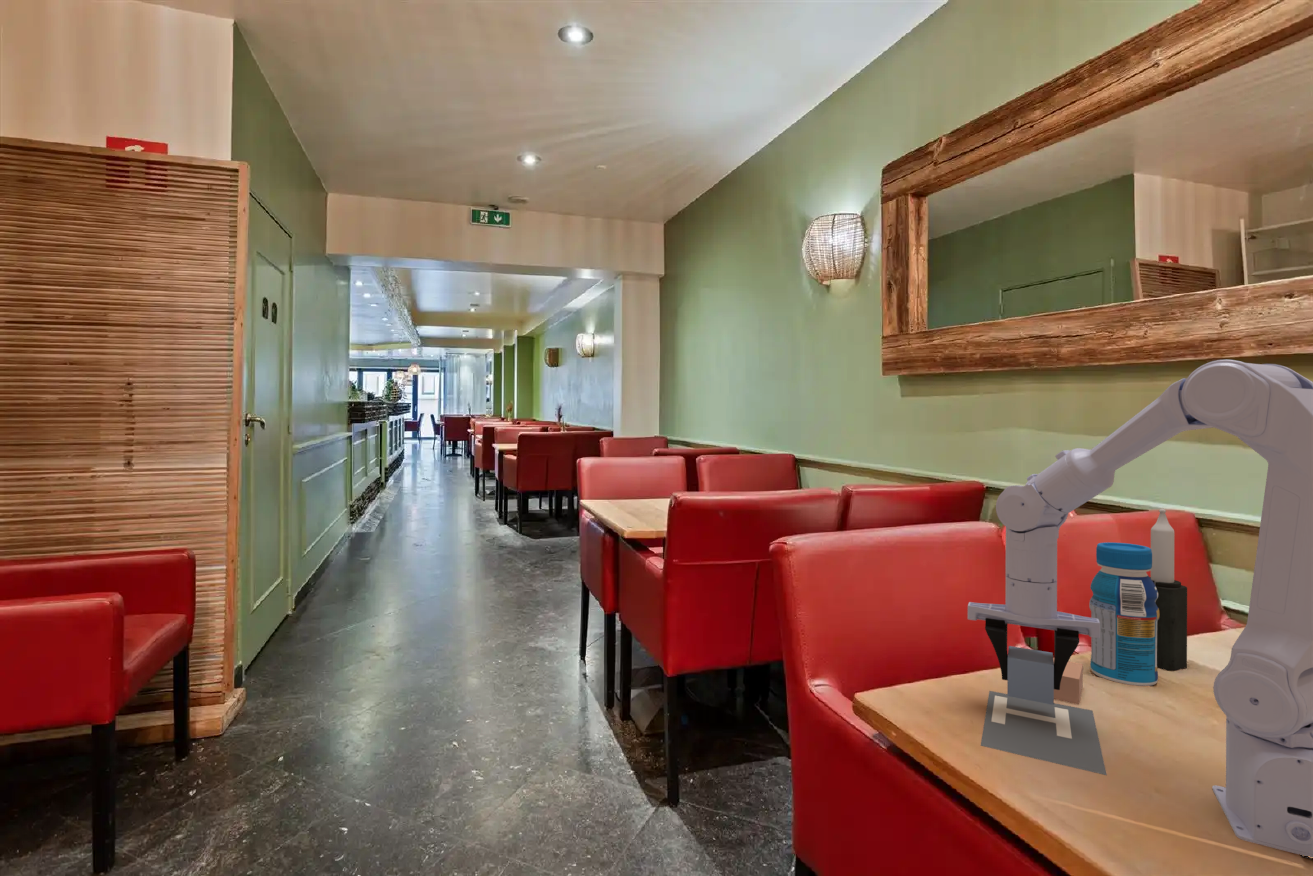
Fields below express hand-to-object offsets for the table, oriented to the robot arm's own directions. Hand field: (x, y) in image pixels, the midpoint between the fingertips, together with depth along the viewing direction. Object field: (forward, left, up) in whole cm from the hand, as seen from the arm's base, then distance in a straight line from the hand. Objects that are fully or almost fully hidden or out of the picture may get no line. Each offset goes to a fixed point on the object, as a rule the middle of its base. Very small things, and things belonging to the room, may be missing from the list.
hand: (1030, 682), depth 79 cm
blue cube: (0, 0, -2) cm, 2 cm away
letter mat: (-3, -1, -5) cm, 6 cm away
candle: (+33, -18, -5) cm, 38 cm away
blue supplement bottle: (+23, -12, -5) cm, 26 cm away
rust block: (+11, -3, -5) cm, 12 cm away
